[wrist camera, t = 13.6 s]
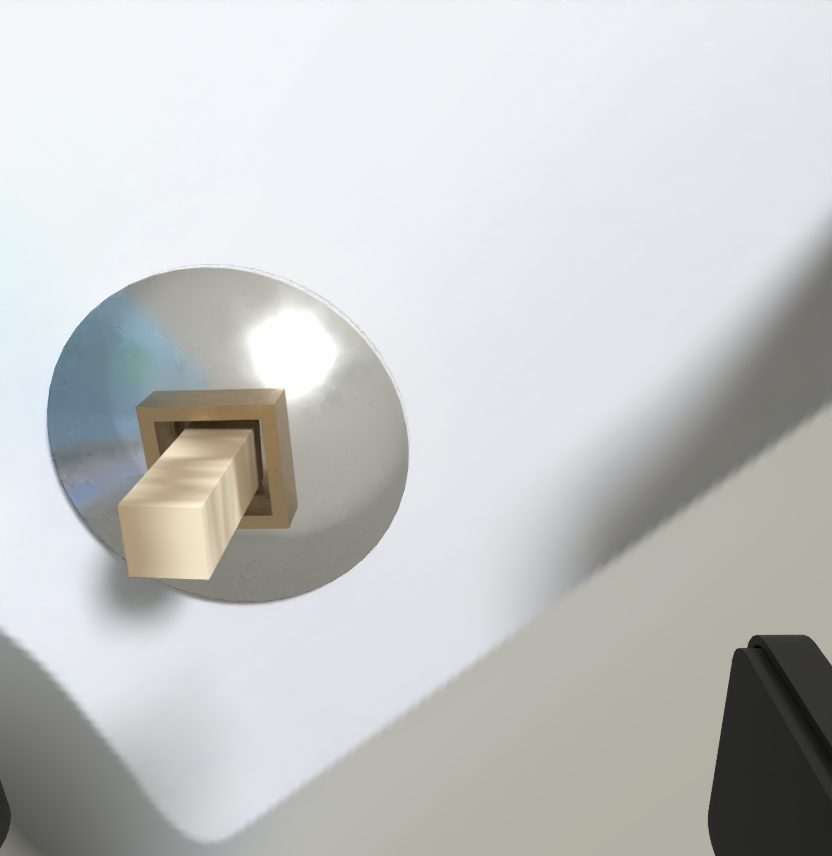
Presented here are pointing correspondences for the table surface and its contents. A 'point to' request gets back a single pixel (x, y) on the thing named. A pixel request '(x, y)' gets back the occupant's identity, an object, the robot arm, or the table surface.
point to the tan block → (192, 500)
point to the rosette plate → (236, 418)
